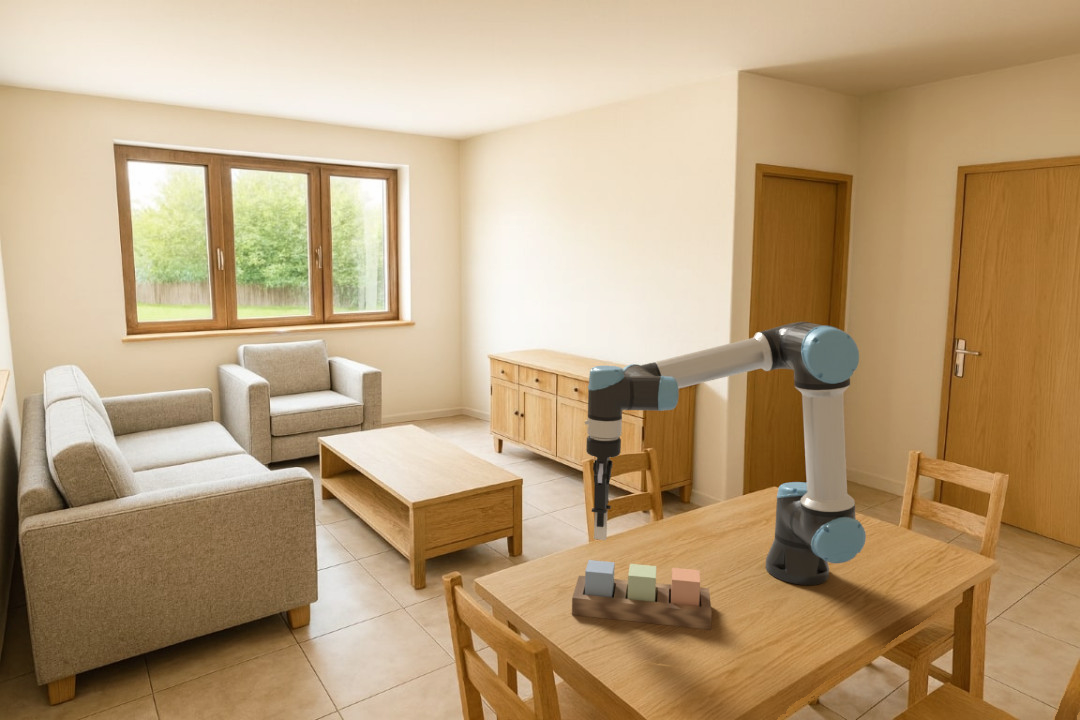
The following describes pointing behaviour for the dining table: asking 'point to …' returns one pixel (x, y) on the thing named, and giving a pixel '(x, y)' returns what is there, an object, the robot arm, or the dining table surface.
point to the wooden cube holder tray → (642, 606)
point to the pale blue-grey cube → (599, 578)
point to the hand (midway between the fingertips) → (600, 538)
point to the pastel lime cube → (642, 582)
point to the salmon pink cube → (685, 587)
